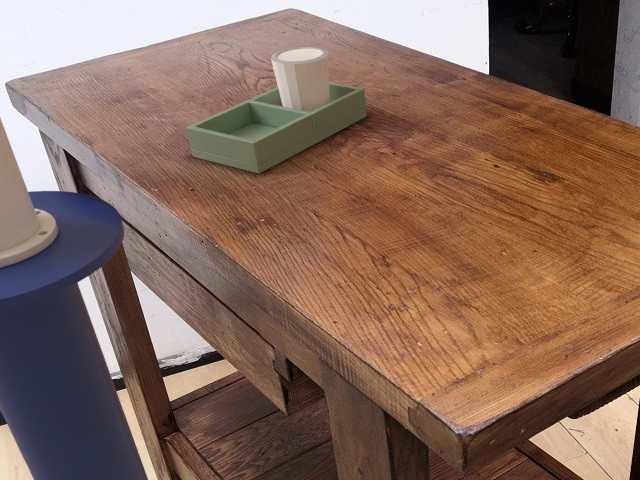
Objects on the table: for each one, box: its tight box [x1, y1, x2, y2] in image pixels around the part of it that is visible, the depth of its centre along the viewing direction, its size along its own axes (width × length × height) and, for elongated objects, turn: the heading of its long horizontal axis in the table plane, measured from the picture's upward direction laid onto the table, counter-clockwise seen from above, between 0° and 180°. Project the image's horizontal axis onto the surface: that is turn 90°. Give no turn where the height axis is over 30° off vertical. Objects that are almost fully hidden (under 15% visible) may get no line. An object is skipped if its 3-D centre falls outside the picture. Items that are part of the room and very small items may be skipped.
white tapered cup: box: [270, 46, 330, 112], centre depth 101 cm, size 7×7×7 cm
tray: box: [185, 81, 368, 174], centre depth 100 cm, size 20×10×4 cm, turn 147°
